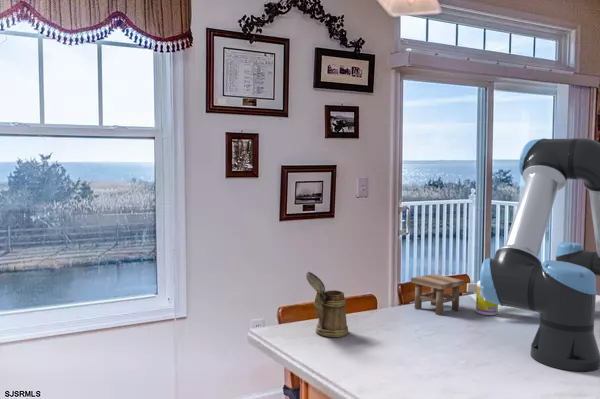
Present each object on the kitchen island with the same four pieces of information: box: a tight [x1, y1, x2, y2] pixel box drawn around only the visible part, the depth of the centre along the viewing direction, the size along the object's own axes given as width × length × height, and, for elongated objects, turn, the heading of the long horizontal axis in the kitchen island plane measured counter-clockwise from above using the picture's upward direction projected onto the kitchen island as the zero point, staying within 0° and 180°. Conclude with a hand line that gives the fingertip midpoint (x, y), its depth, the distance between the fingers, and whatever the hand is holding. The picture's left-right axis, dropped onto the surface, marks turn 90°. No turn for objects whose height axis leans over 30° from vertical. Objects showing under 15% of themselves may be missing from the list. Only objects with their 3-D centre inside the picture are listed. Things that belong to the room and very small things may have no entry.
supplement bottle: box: [475, 280, 499, 316], centre depth 168 cm, size 7×7×13 cm
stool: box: [410, 273, 465, 316], centre depth 172 cm, size 12×12×10 cm
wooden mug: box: [306, 271, 349, 339], centre depth 143 cm, size 9×14×18 cm, turn 128°
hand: (475, 291), depth 168 cm, fingers open, 11 cm apart
